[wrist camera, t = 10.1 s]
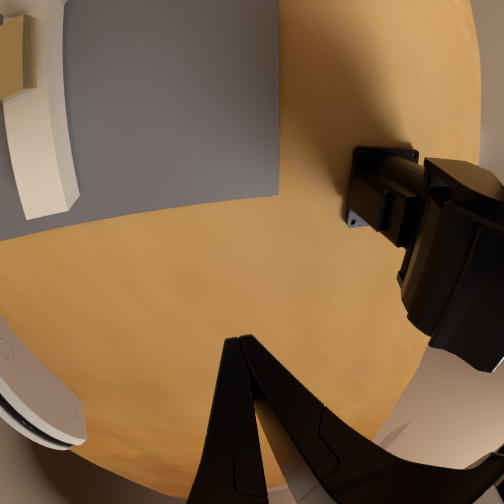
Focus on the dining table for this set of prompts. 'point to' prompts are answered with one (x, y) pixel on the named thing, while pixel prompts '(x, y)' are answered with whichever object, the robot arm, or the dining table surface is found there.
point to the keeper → (17, 57)
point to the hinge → (37, 397)
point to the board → (162, 108)
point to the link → (41, 118)
